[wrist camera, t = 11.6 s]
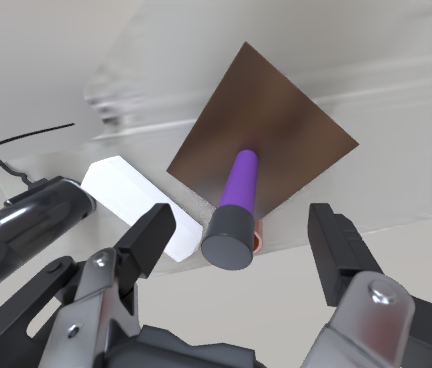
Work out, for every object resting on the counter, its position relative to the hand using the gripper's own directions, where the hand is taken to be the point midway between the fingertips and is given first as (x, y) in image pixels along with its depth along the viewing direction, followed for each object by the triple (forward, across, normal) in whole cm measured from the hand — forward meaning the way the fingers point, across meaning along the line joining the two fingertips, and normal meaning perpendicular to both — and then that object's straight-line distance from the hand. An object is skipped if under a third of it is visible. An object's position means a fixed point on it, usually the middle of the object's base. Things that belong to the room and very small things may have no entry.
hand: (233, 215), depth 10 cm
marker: (+8, 0, 0) cm, 8 cm away
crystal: (+17, +19, +11) cm, 27 cm away
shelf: (+16, 0, 0) cm, 16 cm away
